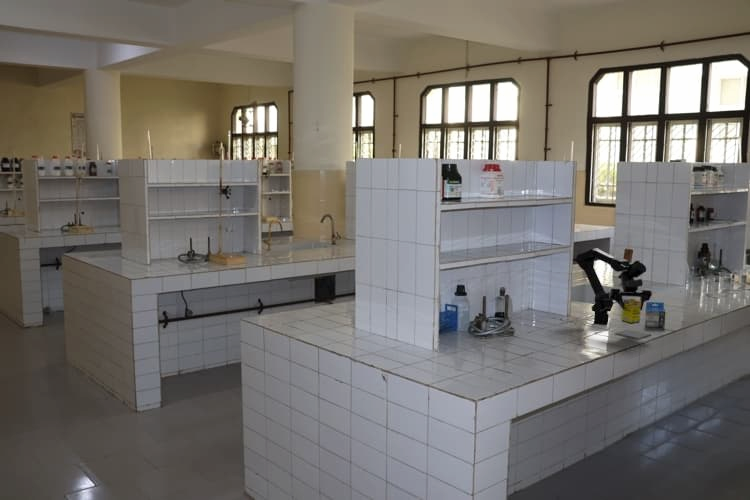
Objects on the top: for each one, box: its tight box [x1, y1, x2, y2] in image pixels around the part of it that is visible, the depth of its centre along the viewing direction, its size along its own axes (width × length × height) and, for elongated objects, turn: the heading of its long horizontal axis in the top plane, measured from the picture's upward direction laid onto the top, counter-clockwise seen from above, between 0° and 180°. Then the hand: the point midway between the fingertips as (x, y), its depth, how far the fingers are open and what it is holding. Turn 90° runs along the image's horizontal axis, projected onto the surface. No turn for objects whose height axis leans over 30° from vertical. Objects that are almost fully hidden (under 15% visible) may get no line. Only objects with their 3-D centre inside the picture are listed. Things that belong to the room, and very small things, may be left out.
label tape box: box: [644, 301, 666, 328], centre depth 342 cm, size 9×4×12 cm, turn 82°
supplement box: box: [621, 298, 642, 325], centre depth 322 cm, size 6×6×11 cm
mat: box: [614, 328, 652, 340], centre depth 325 cm, size 12×12×1 cm
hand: (632, 309), depth 320 cm, fingers closed on supplement box, 8 cm apart
